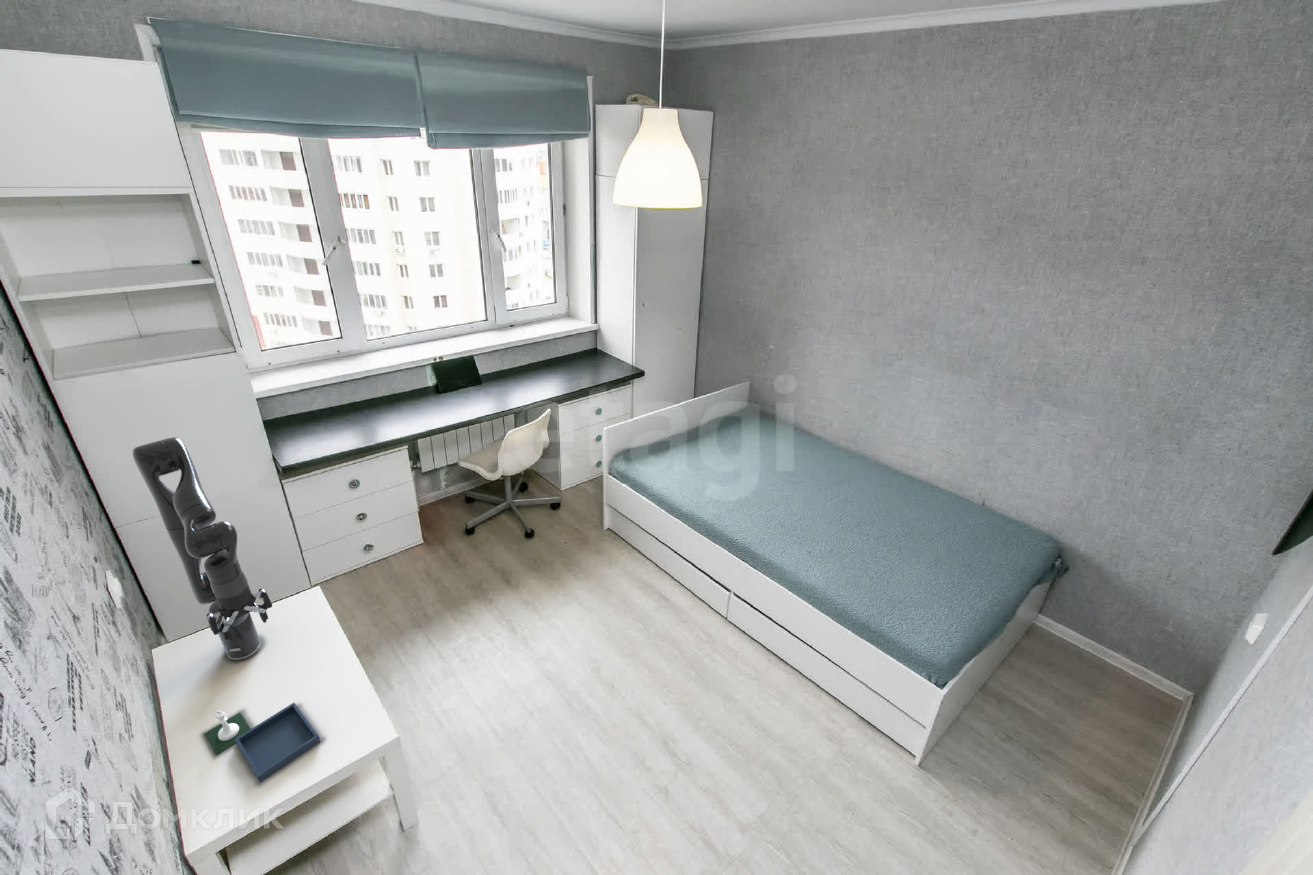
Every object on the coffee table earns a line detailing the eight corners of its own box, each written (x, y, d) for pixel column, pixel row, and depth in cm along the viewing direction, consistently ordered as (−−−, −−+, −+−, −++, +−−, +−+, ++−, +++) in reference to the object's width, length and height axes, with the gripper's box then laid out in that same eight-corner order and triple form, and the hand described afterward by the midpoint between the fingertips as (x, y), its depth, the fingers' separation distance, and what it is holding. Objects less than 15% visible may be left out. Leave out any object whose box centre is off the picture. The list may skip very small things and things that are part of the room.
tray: (236, 744, 164) (234, 739, 163) (296, 707, 175) (294, 702, 174) (259, 782, 156) (257, 777, 155) (320, 741, 167) (318, 735, 166)
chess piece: (229, 742, 164) (218, 720, 159) (213, 738, 165) (202, 715, 160) (243, 726, 168) (233, 704, 163) (228, 722, 169) (217, 700, 164)
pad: (204, 734, 166) (203, 733, 166) (240, 712, 172) (239, 712, 172) (216, 755, 161) (216, 754, 161) (252, 732, 168) (252, 731, 167)
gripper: (254, 566, 164) (269, 608, 172) (194, 593, 154) (213, 636, 162) (265, 580, 160) (280, 622, 168) (204, 609, 150) (223, 652, 158)
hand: (247, 629), depth 165 cm, fingers open, 8 cm apart
